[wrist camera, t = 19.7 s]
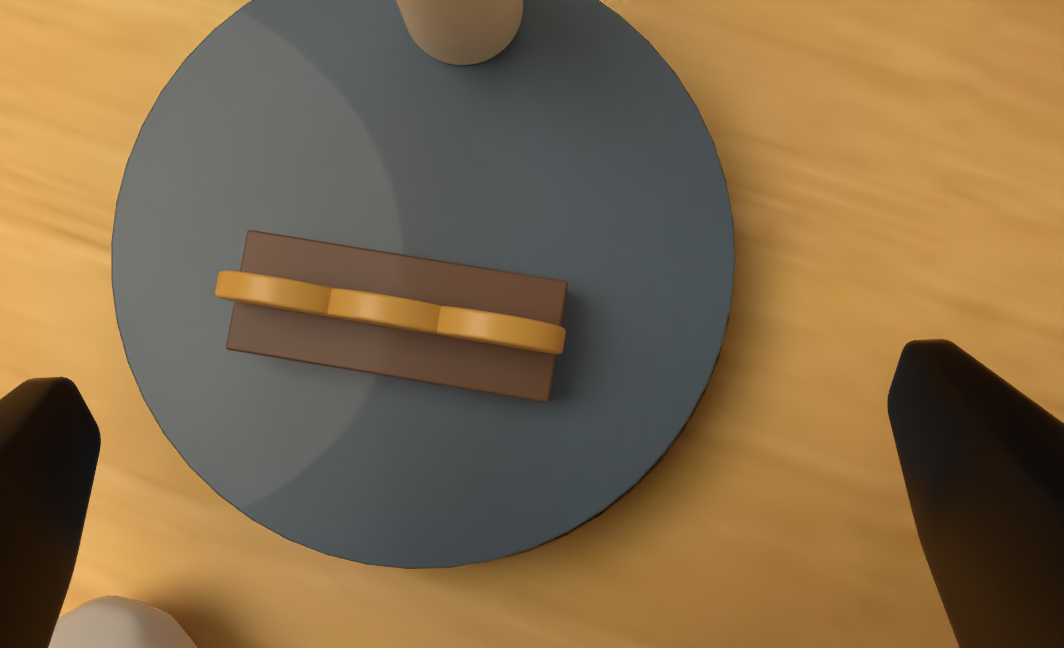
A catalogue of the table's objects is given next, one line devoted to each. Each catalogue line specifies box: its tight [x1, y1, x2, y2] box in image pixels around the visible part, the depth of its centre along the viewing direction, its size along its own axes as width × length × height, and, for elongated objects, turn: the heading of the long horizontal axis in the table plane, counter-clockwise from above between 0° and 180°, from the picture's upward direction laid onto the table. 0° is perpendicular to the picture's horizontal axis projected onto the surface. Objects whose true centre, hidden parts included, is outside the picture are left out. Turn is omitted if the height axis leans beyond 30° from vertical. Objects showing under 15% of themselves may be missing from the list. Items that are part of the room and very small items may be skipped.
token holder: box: [112, 0, 735, 569], centre depth 15 cm, size 13×13×11 cm
